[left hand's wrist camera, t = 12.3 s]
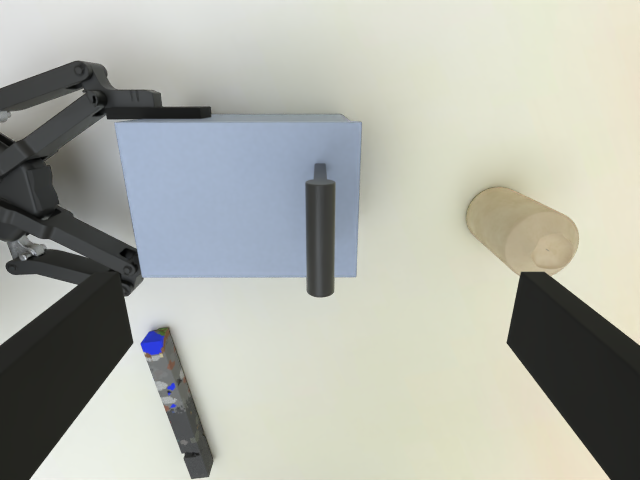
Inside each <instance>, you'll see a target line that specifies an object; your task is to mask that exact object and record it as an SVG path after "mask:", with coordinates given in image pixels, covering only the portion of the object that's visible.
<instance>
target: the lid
mask: <svg viewBox="0 0 640 480" xmlns="http://www.w3.org/2000/svg"><path fill="white" fill-rule="evenodd" d="M114 124H115V129H116V135H117V140H118V146H119V151H120V157H121V163H122V168H123V174H124V179H125V185H126V190H127V196H128V202H129V207H130V213H131V218H132V224H133V229H134V235H135V240H136V246H137V252H138V257H139V263H140V268H141V274H142V277H307V293H308V294H309V295H311V296H314V297H327V296H330V295H332V294H333V292H334V277H356V272H357V244H358V216H359V188H360V161H361V133H362V122H360V121H121V122H115V123H114Z"/></svg>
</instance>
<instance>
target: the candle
mask: <svg viewBox="0 0 640 480" xmlns="http://www.w3.org/2000/svg"><path fill="white" fill-rule="evenodd" d="M466 221H467V225H468V228H469V230H470V232H471V233H472V234H473V235H474V236H475V237H476V238H477V239H478V240H479V241H480V242H481V243H482V244H483V245H485V246H486V247H487V248H488V249H489V250H490V251H491V252H492V253H493V254H495V255H496V256H497V257H498V258H499V259H500V260H501V261H502V262H503V263H505V264H506V265H507V266H508V267H509V268H510V269H511V270H512V271H514V272H515V273H516V274H518V275H519V276H520V274H521V272H546V273H547V274H548V275H549V276H551V275H553V274H556V273H557V272H559V271H560V270H562V269H563V268H564V267H565V266H566V265H567V264H568V263H569V262H570V261H571V260H572V258H573V257H574V255H575V253H576V251H577V248H578V243H579V234H578V230H577V227H576V225H575V224H574V222H573V221H572V220H571V219H570V218H569V217H567V216H566V215H564V214H562V213H560V212H558V211H556V210H553V209H551V208H549V207H547V206H545V205H543V204H541V203H539V202H537V201H535V200H533V199H531V198H528V197H526V196H524V195H522V194H520V193H518V192H516V191H514V190H511V189H509V188H504V187H494V188H490V189H487V190H485V191H483V192H481V193H480V194H478V195H477V196H476V197H475V198H474V199H473V201H472V202H471V203H470V205H469V207H468V210H467V215H466Z"/></svg>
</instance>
